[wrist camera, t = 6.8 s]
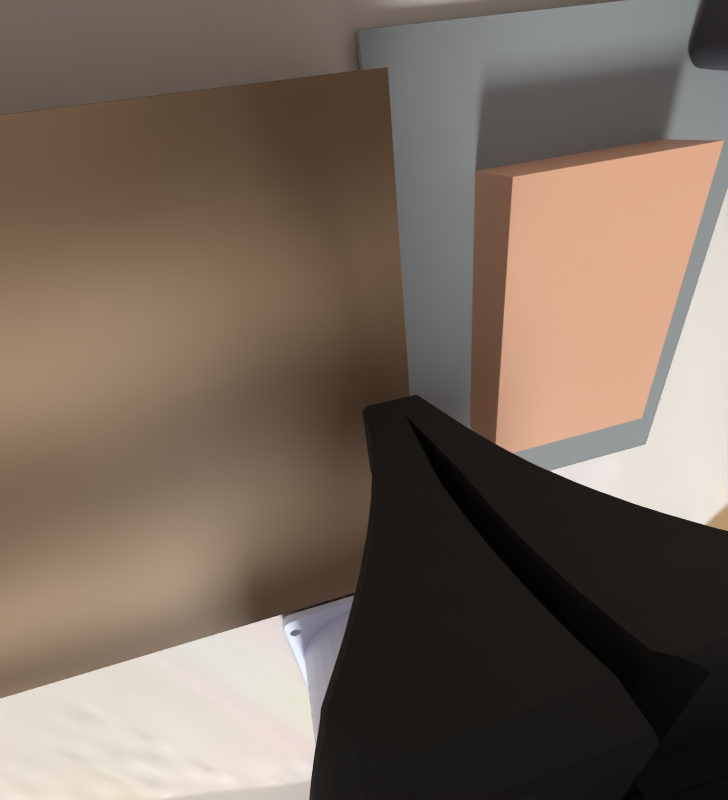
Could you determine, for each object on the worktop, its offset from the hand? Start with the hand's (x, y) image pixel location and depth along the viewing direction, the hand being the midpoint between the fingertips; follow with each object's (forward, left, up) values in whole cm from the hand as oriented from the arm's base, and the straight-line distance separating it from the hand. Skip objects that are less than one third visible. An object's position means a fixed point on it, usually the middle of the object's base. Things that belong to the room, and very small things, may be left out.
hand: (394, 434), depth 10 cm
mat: (0, -7, -5) cm, 9 cm away
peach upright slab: (0, -7, -3) cm, 8 cm away
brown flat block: (0, +7, -5) cm, 9 cm away
